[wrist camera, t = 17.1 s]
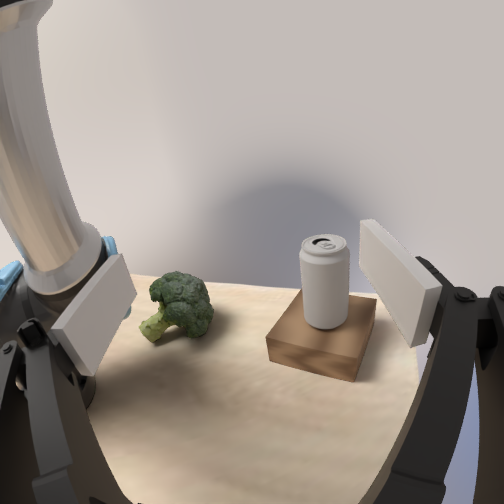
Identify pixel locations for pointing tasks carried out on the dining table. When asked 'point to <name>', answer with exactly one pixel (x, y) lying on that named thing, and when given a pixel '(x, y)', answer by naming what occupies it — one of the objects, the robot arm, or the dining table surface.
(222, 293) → the dining table surface
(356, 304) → the walnut block
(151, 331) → the vegetable
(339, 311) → the beverage can
